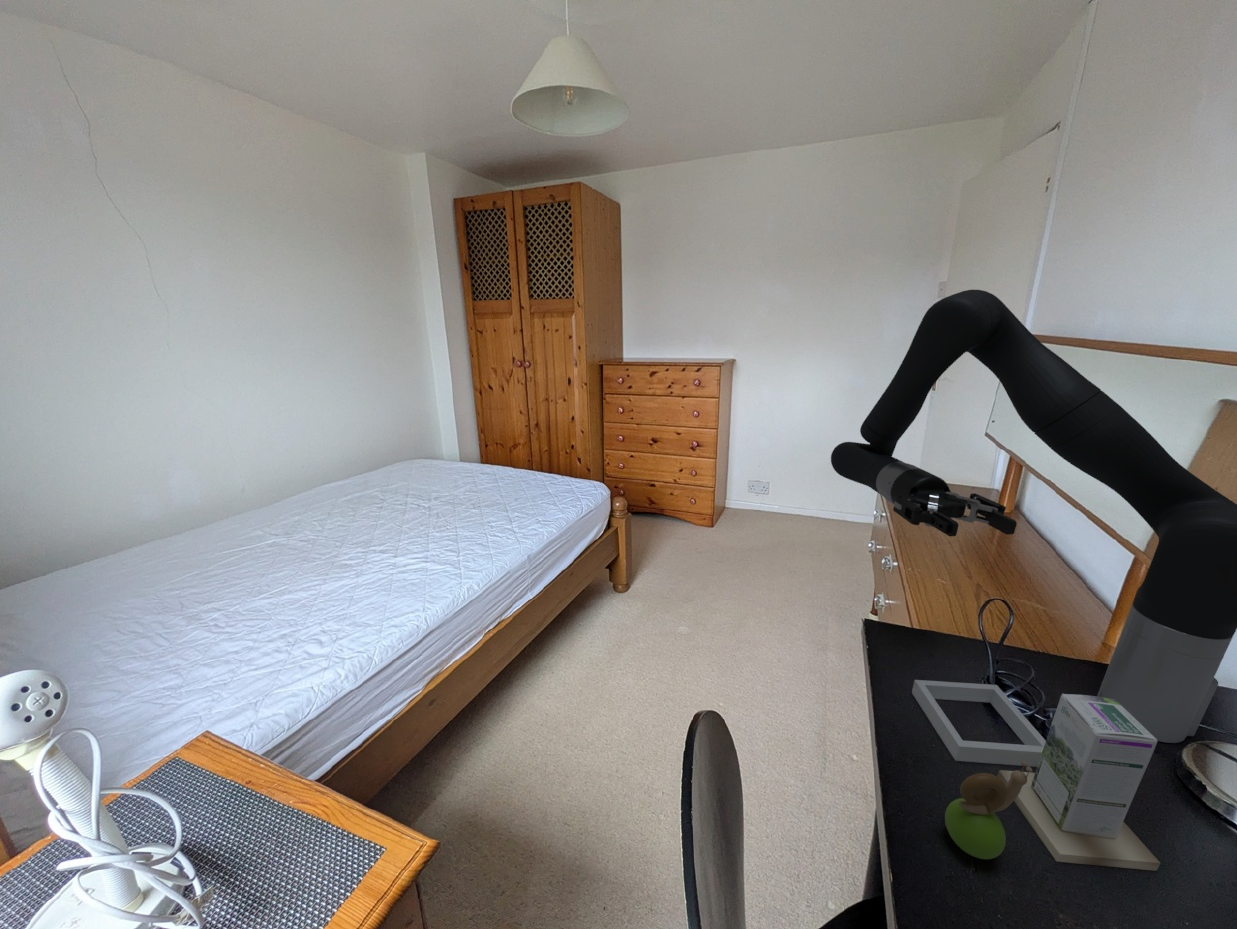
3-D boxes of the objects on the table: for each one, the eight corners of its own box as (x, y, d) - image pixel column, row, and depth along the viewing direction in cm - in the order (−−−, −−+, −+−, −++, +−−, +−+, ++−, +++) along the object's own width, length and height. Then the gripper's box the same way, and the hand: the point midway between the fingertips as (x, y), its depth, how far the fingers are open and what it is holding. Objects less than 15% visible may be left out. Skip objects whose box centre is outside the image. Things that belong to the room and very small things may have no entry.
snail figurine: (1021, 872, 52) (1051, 789, 48) (960, 871, 52) (986, 788, 48) (984, 820, 57) (1010, 742, 53) (930, 820, 57) (951, 742, 53)
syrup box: (1118, 841, 53) (1164, 740, 49) (1058, 831, 54) (1097, 732, 50) (1081, 792, 59) (1119, 697, 54) (1027, 784, 60) (1059, 691, 55)
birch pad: (1080, 783, 61) (1083, 776, 61) (1156, 870, 52) (1160, 862, 51) (996, 776, 62) (999, 769, 62) (1056, 861, 52) (1059, 853, 52)
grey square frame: (992, 697, 74) (996, 684, 74) (1051, 768, 63) (1057, 753, 62) (911, 692, 76) (914, 679, 75) (955, 760, 64) (959, 746, 63)
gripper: (874, 469, 81) (941, 506, 66) (954, 467, 82) (1039, 503, 67) (867, 509, 84) (930, 555, 68) (945, 507, 84) (1025, 551, 69)
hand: (984, 529), depth 67 cm, fingers open, 8 cm apart
